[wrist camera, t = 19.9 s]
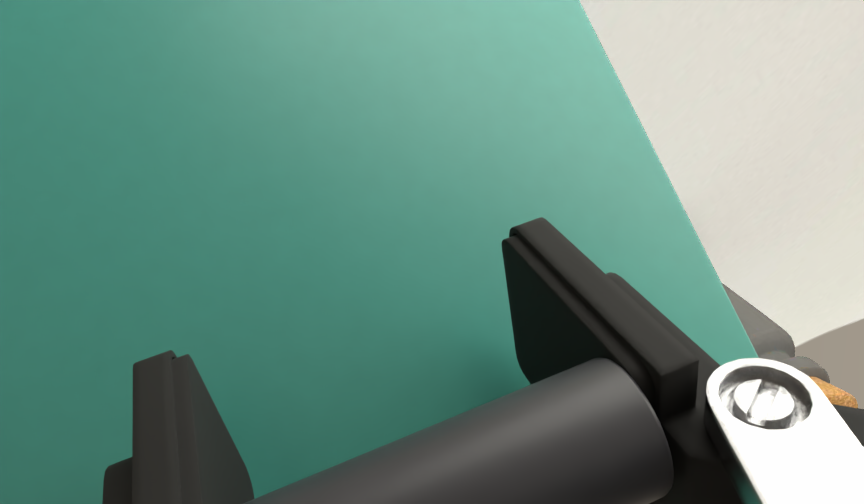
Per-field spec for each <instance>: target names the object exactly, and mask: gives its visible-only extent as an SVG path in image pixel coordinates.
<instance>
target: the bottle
mask: <svg viewBox="0 0 864 504" xmlns="http://www.w3.org/2000/svg"><path fill="white" fill-rule="evenodd" d="M722 285H723V287H724V289H725V291H726V293H727V295H728V297H729V299H730V301H731V303H732V305H733V307H734V309H735V311H736V313H737V315H738V317H739V319H740V321H741V323H742V325H743V327H744V329H745V331H746V333H747V335H748V337H749V339H750V341H751V343H752V345H753V347H754V349H755V351H756V353H757V355H758V357H759V358H761V359H768V360H775V361H778V362H781V363H784V364H787V365H789V366H792V367H794V368H796V369H797V370H799V371H801V372H802V373H804V374H806V375H807V376H808V377H809V378H810V379H811V380H812V381H813V382H814V383H815V384H816V385H817V386H818V387H819V388H820V389H821V391H822V392H823V393H824V395H825V396H826V397H827V399H828V400H829V402H830V403H831V404H836V405H841V406H847V407H853V408H858V404H857V401H856V399H855V398H854V396H852V395H850V394H849V393H847V392H845V391H843V390H841V389H839V388H837V387H835V386H833V385H831V384H830V380H829V376H828V374H827V372H826V371H825V369H823V368H822V367H821V366H819V365H818V364H817V363H816V362H814V361H813V360H811V359H810V358H807V357H795V347H794V343H793V340H792V338H791V336H790V335H789V334H788V333H787V332H786V331H785V330H783V329H782V328H781V327H780V326H778V325H777V324H776V323H775V322H773V321H772V320H771V319H769V318H768V317H767V316H765V315H764V314H763V313H762V312H760V311H759V310H758V309H756V308H755V307H753V306H752V305H751V304H749V303H748V302H747V301H745V300H744V299H743V298H741V297H740V296H739V295H737V294H736V293H735V292H733V291H732V290H731V289H729V288H728V287H727V286H725V285H724V284H722Z"/></svg>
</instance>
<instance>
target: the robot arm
mask: <svg viewBox="0 0 864 504" xmlns="http://www.w3.org/2000/svg"><path fill="white" fill-rule="evenodd" d="M502 253H503V261H504V268H505V276H506V283H507V290H508V298H509V305H510V313H511V320H512V328H513V335H514V342H515V350H516V356H517V360H518V363H519V366H520V368H521V370H522V372H523V374H524V375H525V377H526V378H527V380H528V381H529V382H530V384H534V383H536V382H539V381H541V380H543V379H546V378H548V377H551V376H553V375H555V374H558V373H560V372H563V371H565V370H568V369H570V368H572V367H575V366H577V365H580V364H582V363H585V362H587V361H589V360H592V359H594V358H607V359H609V360H612V361H613V362H615V363H617V364H618V365H619V366H620V367H622V368H623V369H624V370H625V371H626V372H627V373H628V374H629V375H630V376H631V377H632V378H633V380H634V381H635V382H636V383H637V385H638V386H639V387H640V389H641V390H642V392H643V393H644V395H645V396H646V398H647V399H648V401H649V403H650V404H651V406H652V408H653V410H654V411H655V413H656V415H657V417H658V419H659V422H660V424H661V426H662V428H663V431H664V433H665V436H666V439H667V441H668V445H669V448H670V451H671V456H672V460H673V467H674V481H673V485H672V488H671V489H670V491H669V492H668V494H667V495H665V496H664V497H662V498H660V499H658V500H656V501H654V502H651V503H649V504H864V409H858V408H853V407H847V406H841V405H836V404H831V403H830V402H829V400H828V399H827V397H826V396H825V395H824V393H823V392H822V391H821V389H820V388H819V387H818V386H817V385H816V384H815V383H814V382H813V381H812V380H811V379H810V378H809V377H808V376H807V375H806V374H804V373H802V372H801V371H799V370H797V369H796V368H794V367H792V366H789V365H787V364H784V363H781V362H778V361H775V360H768V359H761V358H746V359H738V360H735V361H731V362H728V363H725V364H724V365H722V366H721V365H719V364H718V363H717V362H716V361H715V360H714V359H713V358H712V357H710V356H709V355H708V354H707V353H706V352H705V351H704V350H703V349H701V348H700V347H699V346H698V345H697V344H696V343H695V342H694V341H693V340H691V339H690V338H689V337H688V336H687V335H686V334H685V333H684V332H682V331H681V330H680V329H679V328H678V327H677V326H676V325H675V324H674V323H672V322H671V321H670V320H669V319H668V318H667V317H666V316H665V315H663V314H662V313H661V312H660V311H659V310H658V309H657V308H656V307H655V306H653V305H652V304H651V303H650V302H649V301H648V300H647V299H646V298H644V297H643V296H642V295H641V294H640V293H639V292H638V291H637V290H635V289H634V288H633V287H632V286H631V285H630V284H629V283H628V282H627V281H625V280H624V279H623V278H622V277H620V276H619V275H618V274H616V273H612V272H609V273H606V274H605V273H604V272H603V271H602V270H601V269H600V268H599V267H597V266H596V265H595V264H594V263H593V262H592V261H591V260H590V259H589V258H588V257H587V256H585V255H584V254H583V253H582V252H581V251H580V250H579V249H578V248H577V247H576V246H575V245H574V244H572V243H571V242H570V241H569V240H568V239H567V238H566V237H565V236H564V235H563V234H562V233H560V232H559V231H558V230H557V229H556V228H555V227H554V226H553V225H552V224H551V223H550V222H548V221H547V220H546V219H545V218H543V217H539V218H537V219H534V220H531V221H528V222H525V223H523V224H520V225H517V226H514V227H512V228H511V229H510V232H509V238H506V239H503V241H502ZM253 499H255V498H254V493H253V488H252V483H251V480H250V476H249V473H248V471H247V468H246V466H245V464H244V462H243V460H242V458H241V456H240V454H239V452H238V450H237V448H236V446H235V444H234V442H233V440H232V438H231V436H230V434H229V432H228V430H227V428H226V426H225V424H224V422H223V420H222V418H221V416H220V414H219V412H218V410H217V408H216V406H215V404H214V402H213V400H212V398H211V396H210V394H209V392H208V390H207V388H206V386H205V384H204V382H203V380H202V378H201V376H200V374H199V372H198V370H197V368H196V366H195V364H194V362H193V360H192V358H191V357H190V355H189V354H186V355H183V356H180V357H177V356H176V355H175V353H174V352H173V351H172V350H169V351H166V352H163V353H161V354H158V355H155V356H152V357H149V358H147V359H144V360H141V361H138V362H136V363H134V364H133V424H132V457H130V458H128V459H125V460H122V461H120V462H117V463H115V464H112V465H109V466H108V467H107V469H106V470H105V474H104V480H103V501H102V504H243V503H246V502H248V501H251V500H253Z"/></svg>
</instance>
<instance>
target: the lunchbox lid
mask: <svg viewBox="0 0 864 504" xmlns="http://www.w3.org/2000/svg"><path fill="white" fill-rule="evenodd" d="M539 217H543V218H545V219H546V220H547V221H548V222H550V223H551V224H552V225H553V226H554V227H555V228H556V229H557V230H558V231H559V232H560V233H562V234H563V235H564V236H565V237H566V238H567V239H568V240H569V241H570V242H571V243H572V244H574V245H575V246H576V247H577V248H578V249H579V250H580V251H581V252H582V253H583V254H584V255H585V256H587V257H588V258H589V259H590V260H591V261H592V262H593V263H594V264H595V265H596V266H597V267H599V268H600V269H601V270H602V271H603V272H604V273H605V274H606V273H609V272H612V273H616V274H618V275H619V276H620V277H622V278H623V279H624V280H625V281H627V282H628V283H629V284H630V285H631V286H632V287H633V288H634V289H635V290H637V291H638V292H639V293H640V294H641V295H642V296H643V297H644V298H646V299H647V300H648V301H649V302H650V303H651V304H652V305H653V306H655V307H656V308H657V309H658V310H659V311H660V312H661V313H662V314H663V315H665V316H666V317H667V318H668V319H669V320H670V321H671V322H672V323H674V324H675V325H676V326H677V327H678V328H679V329H680V330H681V331H682V332H684V333H685V334H686V335H687V336H688V337H689V338H690V339H691V340H693V341H694V342H695V343H696V344H697V345H698V346H699V347H700V348H701V349H703V350H704V351H705V352H706V353H707V354H708V355H709V356H710V357H712V358H713V359H714V360H715V361H716V362H717V363H718V364H719V365H721V366H722V365H724V364H725V363H728V362H731V361H735V360H738V359H746V358H759V357H758V355H757V353H756V351H755V349H754V347H753V345H752V343H751V341H750V339H749V337H748V335H747V333H746V331H745V329H744V327H743V325H742V323H741V321H740V319H739V317H738V315H737V313H736V311H735V309H734V307H733V305H732V303H731V301H730V299H729V297H728V295H727V293H726V291H725V289H724V287H723V285H722V283H721V281H720V279H719V277H718V275H717V273H716V271H715V269H714V267H713V266H712V264H711V262H710V260H709V258H708V256H707V254H706V252H705V250H704V248H703V246H702V244H701V242H700V240H699V238H698V236H697V234H696V232H695V230H694V228H693V226H692V224H691V222H690V220H689V218H688V216H687V214H686V212H685V210H684V208H683V206H682V204H681V202H680V200H679V198H678V196H677V194H676V192H675V190H674V188H673V186H672V184H671V182H670V180H669V178H668V176H667V174H666V172H665V170H664V168H663V166H662V164H661V162H660V160H659V158H658V156H657V154H656V152H655V150H654V148H653V146H652V144H651V142H650V140H649V138H648V136H647V134H646V132H645V130H644V128H643V126H642V124H641V122H640V120H639V118H638V116H637V114H636V112H635V110H634V108H633V106H632V104H631V103H630V101H629V99H628V97H627V95H626V93H625V91H624V89H623V87H622V85H621V83H620V81H619V79H618V77H617V75H616V73H615V71H614V69H613V67H612V65H611V63H610V61H609V59H608V57H607V55H606V53H605V51H604V49H603V47H602V45H601V43H600V41H599V39H598V37H597V35H596V33H595V31H594V29H593V27H592V25H591V23H590V21H589V19H588V17H587V15H586V13H585V11H584V9H583V7H582V5H581V3H580V1H579V0H0V504H102V501H103V480H104V474H105V470H106V469H107V467H108V466H109V465H112V464H115V463H117V462H120V461H122V460H125V459H128V458H130V457H132V424H133V364H134V363H136V362H138V361H141V360H144V359H147V358H149V357H152V356H155V355H158V354H161V353H163V352H166V351H169V350H172V351H173V352H174V353H175V355H176V356H177V357H180V356H183V355H186V354H189V355H190V357H191V358H192V360H193V362H194V364H195V366H196V368H197V370H198V372H199V374H200V376H201V378H202V380H203V382H204V384H205V386H206V388H207V390H208V392H209V394H210V396H211V398H212V400H213V402H214V404H215V406H216V408H217V410H218V412H219V414H220V416H221V418H222V420H223V422H224V424H225V426H226V428H227V430H228V432H229V434H230V436H231V438H232V440H233V442H234V444H235V446H236V448H237V450H238V452H239V454H240V456H241V458H242V460H243V462H244V464H245V466H246V468H247V471H248V473H249V476H250V480H251V483H252V488H253V493H254V498H255V499H253V500H251V501H248V502H246V503H243V504H649V503H651V502H654V501H656V500H658V499H660V498H662V497H664V496H665V495H667V494H668V492H669V491H670V489H671V488H672V485H673V481H674V467H673V460H672V456H671V451H670V448H669V445H668V441H667V439H666V436H665V433H664V431H663V428H662V426H661V424H660V422H659V419H658V417H657V415H656V413H655V411H654V410H653V408H652V406H651V404H650V403H649V401H648V399H647V398H646V396H645V395H644V393H643V392H642V390H641V389H640V387H639V386H638V385H637V383H636V382H635V381H634V380H633V378H632V377H631V376H630V375H629V374H628V373H627V372H626V371H625V370H624V369H623V368H622V367H620V366H619V365H618V364H617V363H615V362H613V361H612V360H609V359H607V358H594V359H592V360H589V361H587V362H585V363H582V364H580V365H577V366H575V367H572V368H570V369H568V370H565V371H563V372H560V373H558V374H555V375H553V376H551V377H548V378H546V379H543V380H541V381H539V382H536V383H534V384H530V382H529V381H528V380H527V378H526V377H525V375H524V374H523V372H522V370H521V368H520V366H519V363H518V360H517V356H516V350H515V342H514V335H513V328H512V320H511V313H510V305H509V298H508V290H507V283H506V276H505V268H504V261H503V253H502V241H503V239H506V238H509V232H510V229H511V228H512V227H514V226H517V225H520V224H523V223H525V222H528V221H531V220H534V219H537V218H539Z"/></svg>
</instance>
